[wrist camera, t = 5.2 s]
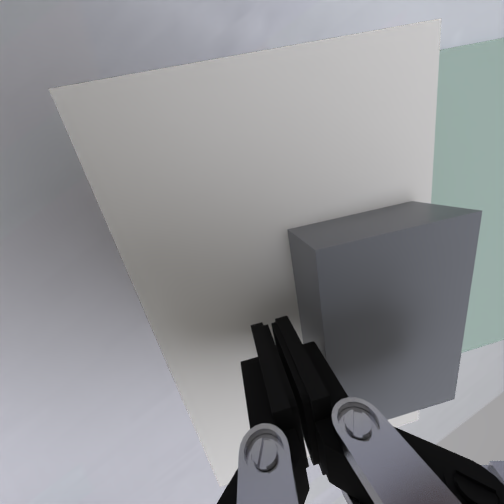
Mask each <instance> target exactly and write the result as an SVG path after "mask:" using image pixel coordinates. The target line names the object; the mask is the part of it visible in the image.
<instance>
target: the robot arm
mask: <svg viewBox="0 0 504 504" xmlns="http://www.w3.org/2000/svg"><path fill="white" fill-rule="evenodd" d="M271 325H272V330H273V335H274V339H275V342H274V339H273V337H272V334H271V331H270V328H269V326H268V324H267V325H263V323H262V322H261V323H257V324H253V325H250V326H251V330H252V334H253V338H254V342H255V346H256V351H257V355H258V357H255V358H252V359H248V360H245V361H241V370H242V377H243V384H244V391H245V398H246V405H247V412H248V418H249V425H250V430H249V431H248V432H247V433H246V434H245V436H244V437H243V439H242V441H241V444H240V448H239V457H238V469H237V470H236V472H235V474H234V475H233V477H232V479H231V481H230V482H229V484H228V486H227V487H226V489H225V491H224V492H223V494H222V496H221V498H220V499H219V501H218V503H217V504H304V503H305V500H306V497H307V494H308V491H309V489H310V488H309V483H308V478H307V472H306V468H307V467H309V465H308V459H307V454H306V449H305V443H306V446H307V449H308V452H309V455H310V458H311V461H312V463H313V465H316V464H319V466H320V468H321V471H322V474H323V475H325V474H326V475H327V477H328V480H329V482H330V483H332V484H333V485H335V486H336V487H338V488H340V489H341V491H342V493H343V496H344V498H345V500H346V502H347V503H348V504H504V461H490V462H489V465H479V464H477V463H475V462H474V461H471V460H470V459H467V458H465V457H463V456H460V455H458V454H456V453H453V452H451V451H448V450H446V449H444V448H442V447H440V446H437V445H435V444H433V443H430V442H428V441H426V440H423V439H421V438H419V437H416V436H414V435H412V434H409V433H407V432H405V431H403V430H400V429H398V428H396V427H393V426H392V425H391V424H390V423H389V421H388V420H387V419H386V418H385V417H384V416H383V415H382V414H381V412H380V411H379V410H378V409H377V408H376V407H374V406H373V405H372V404H371V403H369V402H367V401H366V400H364V399H360V398H357V397H348V395H347V394H346V392H345V390H344V389H343V387H342V385H341V384H340V382H339V380H338V379H337V377H336V376H335V374H334V372H333V371H332V369H331V367H330V366H329V364H328V362H327V361H326V359H325V358H324V356H323V354H322V353H321V351H320V349H319V348H318V346H317V345H316V343H315V342H314V341H312V342H308V343H305V344H302V342H301V340H300V339H299V337H298V335H297V333H296V331H295V329H294V327H293V325H292V323H291V321H290V320H289V318H288V316H283V317H279V318H276V319H275V322H274V323H271ZM275 344H276V345H275ZM303 437H304V438H303ZM304 440H305V443H304Z"/></svg>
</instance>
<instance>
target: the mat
mask: <svg viewBox="0 0 504 504" xmlns="http://www.w3.org/2000/svg"><path fill="white" fill-rule="evenodd" d="M431 204H437V205H445V206H452V207H459V208H467V209H474V210H482V217H481V224H480V231H479V237H478V244H477V251H476V257H475V264H474V271H473V277H472V284H471V291H470V297H469V304H468V311H467V318H466V324H465V331H464V338H463V344H462V351H461V353H463V352H466V351H469V350H472V349H475V348H479V347H482V346H485V345H488V344H491V343H494V342H498V341H501V340H504V38H500V39H495V40H490V41H485V42H479V43H474V44H469V45H464V46H459V47H453V48H448V49H443V50H440V54H439V72H438V89H437V107H436V125H435V143H434V160H433V178H432V196H431Z"/></svg>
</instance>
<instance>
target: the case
mask: <svg viewBox="0 0 504 504" xmlns="http://www.w3.org/2000/svg"><path fill="white" fill-rule="evenodd" d="M481 217H482V210H474V209H467V208H459V207H452V206H445V205H437V204H430V203H422V202H415V201H411V202H406V203H402V204H397V205H393V206H389V207H384V208H380V209H375V210H371V211H366V212H362V213H358V214H353V215H349V216H344V217H340V218H336V219H331V220H327V221H322V222H318V223H314V224H309V225H305V226H300V227H296V228H292V229H287V230H288V238H289V245H290V252H291V259H292V266H293V273H294V281H295V288H296V295H297V302H298V309H299V316H300V323H301V331H302V338H303V344H305V343H308V342H312V341H314V342H315V343H316V345H317V346H318V348H319V349H320V351H321V353H322V354H323V356H324V358H325V359H326V361H327V362H328V364H329V366H330V367H331V369H332V371H333V372H334V374H335V376H336V377H337V379H338V380H339V382H340V384H341V385H342V387H343V389H344V390H345V392H346V394H347V395H348V397H357V398H360V399H364V400H366V401H367V402H369V403H371V404H372V405H373V406H374V407H376V408H377V409H378V410H379V411H380V412H381V414H382V415H383V416H384V417H385V418H386V419H387V420H389V419H392V418H395V417H398V416H401V415H405V414H408V413H411V412H414V411H417V410H421V409H424V408H427V407H430V406H433V405H437V404H440V403H443V402H446V401H450V400H453V399H454V398H455V391H456V384H457V378H458V371H459V364H460V358H461V351H462V344H463V338H464V331H465V324H466V318H467V311H468V304H469V297H470V291H471V284H472V277H473V271H474V264H475V257H476V251H477V244H478V237H479V231H480V224H481Z"/></svg>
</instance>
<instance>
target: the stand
mask: <svg viewBox="0 0 504 504" xmlns="http://www.w3.org/2000/svg"><path fill="white" fill-rule="evenodd" d="M440 36H441V18H440V19H435V20H429V21H424V22H418V23H412V24H407V25H401V26H396V27H390V28H384V29H379V30H373V31H368V32H362V33H357V34H351V35H345V36H340V37H334V38H329V39H323V40H317V41H312V42H306V43H301V44H295V45H289V46H284V47H278V48H273V49H267V50H261V51H256V52H250V53H245V54H239V55H233V56H228V57H222V58H217V59H211V60H206V61H200V62H194V63H189V64H183V65H178V66H172V67H166V68H161V69H155V70H150V71H144V72H138V73H133V74H127V75H122V76H116V77H110V78H105V79H99V80H94V81H88V82H82V83H77V84H71V85H66V86H60V87H54V88H49V92H50V94H51V96H52V98H53V101H54V103H55V105H56V108H57V110H58V112H59V115H60V117H61V119H62V122H63V124H64V126H65V129H66V131H67V133H68V136H69V138H70V140H71V143H72V145H73V147H74V150H75V152H76V154H77V157H78V159H79V161H80V163H81V166H82V168H83V170H84V173H85V175H86V177H87V180H88V182H89V184H90V187H91V189H92V191H93V194H94V196H95V198H96V201H97V203H98V205H99V208H100V210H101V212H102V215H103V217H104V219H105V222H106V224H107V226H108V228H109V231H110V233H111V235H112V238H113V240H114V242H115V245H116V247H117V249H118V252H119V254H120V256H121V259H122V261H123V263H124V266H125V268H126V270H127V273H128V275H129V277H130V280H131V282H132V284H133V286H134V289H135V291H136V293H137V296H138V298H139V300H140V303H141V305H142V307H143V310H144V312H145V314H146V317H147V319H148V321H149V324H150V326H151V328H152V331H153V333H154V335H155V338H156V340H157V342H158V345H159V347H160V349H161V351H162V354H163V356H164V358H165V361H166V363H167V365H168V368H169V370H170V372H171V375H172V377H173V379H174V382H175V384H176V386H177V389H178V391H179V393H180V396H181V398H182V400H183V403H184V405H185V407H186V410H187V412H188V414H189V416H190V419H191V421H192V423H193V426H194V428H195V430H196V433H197V435H198V437H199V440H200V442H201V444H202V447H203V449H204V451H205V454H206V456H207V458H208V461H209V463H210V465H211V468H212V470H213V472H214V475H215V477H216V479H217V481H218V484H219V486H220V487H222V486H225V485H228V484H229V482H230V481H231V479H232V477H233V475H234V474H235V472H236V470H237V469H238V457H239V448H240V444H241V441H242V439H243V437H244V436H245V434H246V433H247V432H248V431H249V430H250V425H249V418H248V412H247V405H246V398H245V391H244V384H243V377H242V370H241V361H245V360H248V359H252V358H255V357H258V355H257V351H256V346H255V342H254V338H253V334H252V330H251V326H250V325H253V324H257V323H261V322H262V323H263V325H267V324H268V326H269V328H270V331H271V334H272V337H273V339H274V335H273V330H272V325H271V323H274V322H275V319H276V318H279V317H283V316H288V318H289V320H290V321H291V323H292V325H293V327H294V329H295V331H296V333H297V335H298V337H299V339H300V340H301V342H302V344H303V338H302V331H301V323H300V316H299V309H298V302H297V295H296V288H295V281H294V273H293V266H292V259H291V252H290V245H289V238H288V230H287V229H292V228H296V227H300V226H305V225H309V224H314V223H318V222H322V221H327V220H331V219H336V218H340V217H344V216H349V215H353V214H358V213H362V212H366V211H371V210H375V209H380V208H384V207H389V206H393V205H397V204H402V203H406V202H411V201H415V202H422V203H430V204H431V196H432V178H433V160H434V143H435V125H436V107H437V89H438V72H439V54H440ZM274 342H275V339H274ZM275 345H276V344H275ZM418 420H419V410H417V411H414V412H411V413H408V414H405V415H401V416H398V417H395V418H392V419H389V420H388V421H389V423H390V424H391V425H392V426H393V427H396V428H397V427H400V426H403V425H406V424H409V423H412V422H415V421H418ZM303 438H304V437H303ZM304 443H305V440H304ZM305 449H306V454H307V458H308V457H310V455H309V452H308V449H307V446H306V443H305Z"/></svg>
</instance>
